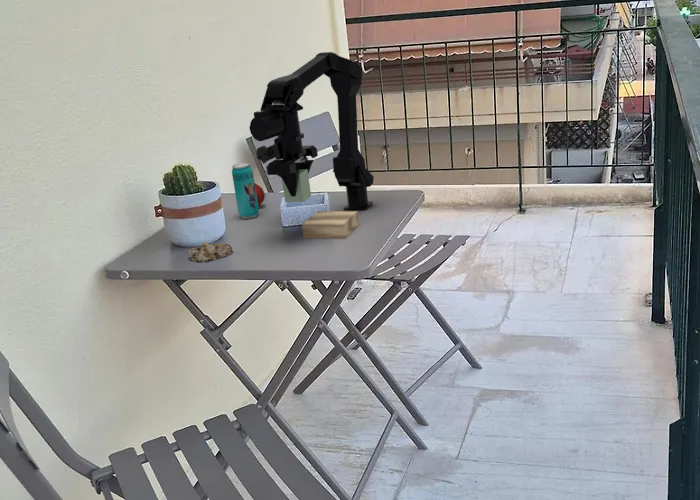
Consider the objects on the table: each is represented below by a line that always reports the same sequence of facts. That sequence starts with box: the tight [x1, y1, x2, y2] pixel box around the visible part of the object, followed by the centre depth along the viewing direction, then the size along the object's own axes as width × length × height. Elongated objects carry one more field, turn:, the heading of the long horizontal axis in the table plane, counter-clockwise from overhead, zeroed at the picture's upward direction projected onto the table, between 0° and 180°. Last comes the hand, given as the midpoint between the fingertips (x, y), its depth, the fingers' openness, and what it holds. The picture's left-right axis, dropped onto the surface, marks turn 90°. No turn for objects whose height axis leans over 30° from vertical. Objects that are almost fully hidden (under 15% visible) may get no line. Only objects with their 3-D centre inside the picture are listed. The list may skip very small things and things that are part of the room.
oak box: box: [301, 210, 360, 240], centre depth 191 cm, size 11×11×4 cm
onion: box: [255, 183, 266, 208], centre depth 221 cm, size 6×6×8 cm
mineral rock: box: [187, 242, 234, 263], centre depth 183 cm, size 11×4×8 cm
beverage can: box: [231, 162, 260, 220], centre depth 211 cm, size 6×6×15 cm
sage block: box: [281, 169, 312, 203], centre depth 189 cm, size 5×5×7 cm
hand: (297, 193), depth 189 cm, fingers closed on sage block, 5 cm apart
